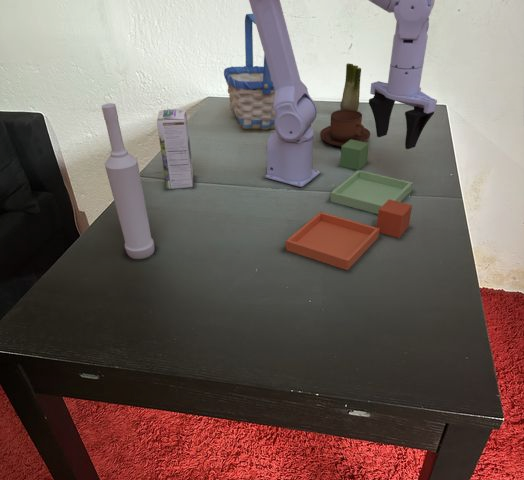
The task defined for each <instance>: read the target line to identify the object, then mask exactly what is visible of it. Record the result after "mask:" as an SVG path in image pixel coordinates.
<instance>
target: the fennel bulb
mask: <svg viewBox="0 0 524 480" xmlns="http://www.w3.org/2000/svg"><path fill="white" fill-rule="evenodd" d="M345 67H346V68H345V82H344V86H343V91H342V97H341V101H340V110H354V111H358V109H359V106H360V95H361V93H360V90H361V75H362V68H361V67H359V65H355V64H353V63H348V62H347V63H346V65H345Z"/></svg>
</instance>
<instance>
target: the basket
mask: <svg viewBox="0 0 524 480" xmlns="http://www.w3.org/2000/svg"><path fill="white" fill-rule="evenodd" d="M253 24H254V25H256V23H255V19H254V16H253V13H246V14H245V16H244V47H245V48H244V49H245V54H244V55H245V65H243V66H230V67H225V68H224V70H223V76H224V80H225V82H226V85H227V94H229V95H228V96H229V97H228V99H229V102H230V103H229V106H230V109H231V113H232V114H233V115H234V117H236V121H237V123H238V124H240V125H241V127H242V129H243V130H249V129H260V130H263V131H264V130H265V131H268V130H276V129H275V110H274V97H275V89H274V85H273V82H272V78H271V75H270V71H269V68H268V64H267V61H266V57H265V54H264V53H263V66H259V65H255V66H254V49H253V48H254V45H253V44H254V43H253V41H254V37H253Z"/></svg>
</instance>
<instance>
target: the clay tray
mask: <svg viewBox="0 0 524 480" xmlns="http://www.w3.org/2000/svg"><path fill="white" fill-rule="evenodd" d="M376 227H377V226H372V225H369V224H366V223H362V222H359V221H355V220H352V219H348V218H344V217H341V216H338V215H334V214H330V213H327V212H323V211H319V212H318V213H316V214H315V216H313V217H312V218H311V219H310V220H309V221H307V222H306V223H304V224H303V226H301V227H300V228H298V230H297V231H295V232H294V233H293V234H292V235H291V236H290V237H288V238H287V239H286V240H285V251H286V252H287V251H288V252H291V253H294V254H297V255H299V256H303V257H306V258H309V259H312V260H315V261H318V262H321V263H324V264H327V265H330V266H333V267H336V268H339V269H342V270H345V271H349V270H350V269H351V267H352V266H353V265H354V264H355V263H356V262H357V261H358V260H359V259H360V258H361V257H362V256H363V255H364V253H366V252H367V250H368V249H369V248H370V247H371V246H372V245H374V243H375V242H376V241H377V240H378V239H379V237H380V233H379V230H380V228H376Z"/></svg>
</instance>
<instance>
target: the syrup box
mask: <svg viewBox="0 0 524 480" xmlns="http://www.w3.org/2000/svg"><path fill="white" fill-rule="evenodd" d="M187 115H188V113H187V109H182V108H181V109H180V108H170V109H161V110H158V115H157V119H156V127H157V132H158V139H159V140H158V141H159V147H160V152H161V153H160V154H161V160H162V166H163V167H162V168H163V173H164V179H165V187H166V189H167V190H174V189H175V190H176V189H186V188H188V189H189V188H194V167H193V158H192V151H191V150H192V149H191V141H190V132H189V131H190V130H189V124H188V116H187Z"/></svg>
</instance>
